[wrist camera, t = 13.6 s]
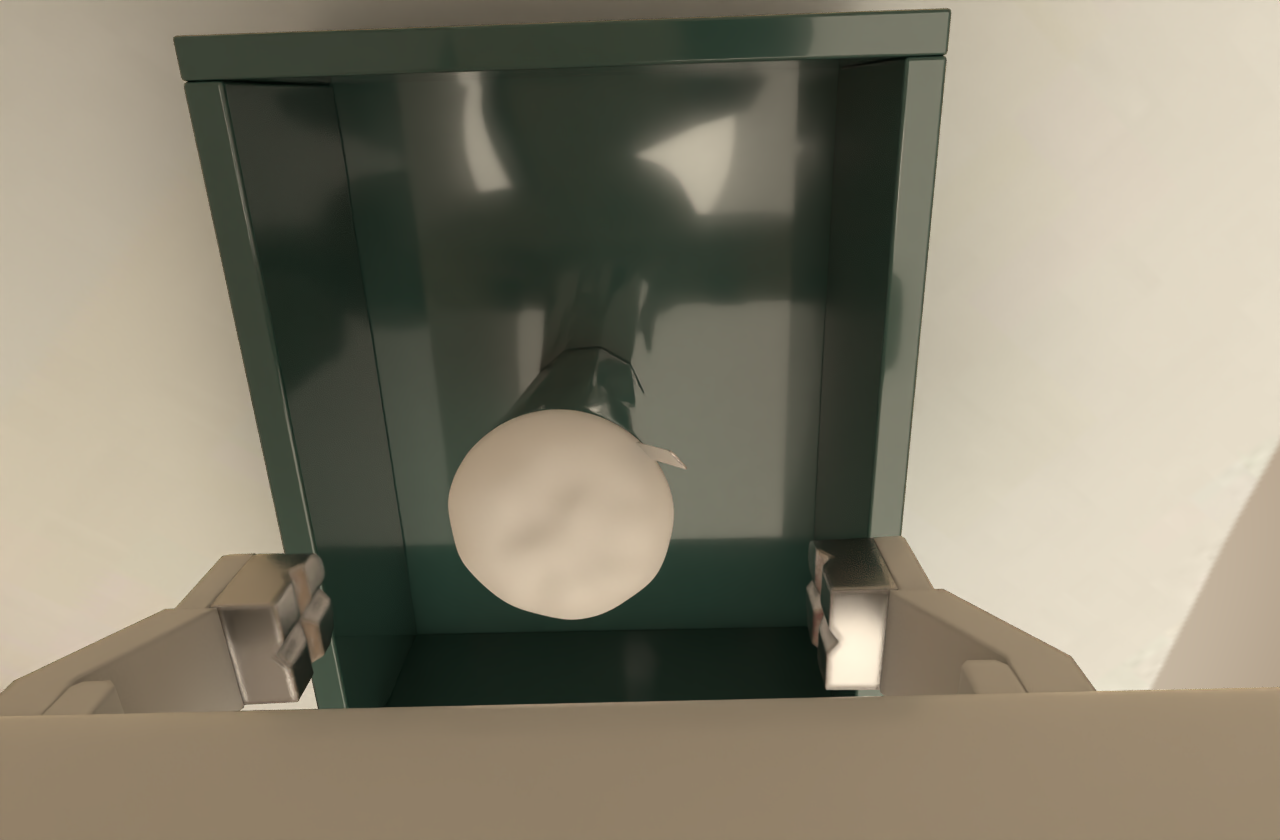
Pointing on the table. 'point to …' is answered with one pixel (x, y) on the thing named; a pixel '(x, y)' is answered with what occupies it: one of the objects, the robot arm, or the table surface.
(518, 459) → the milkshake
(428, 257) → the open box
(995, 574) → the table surface
